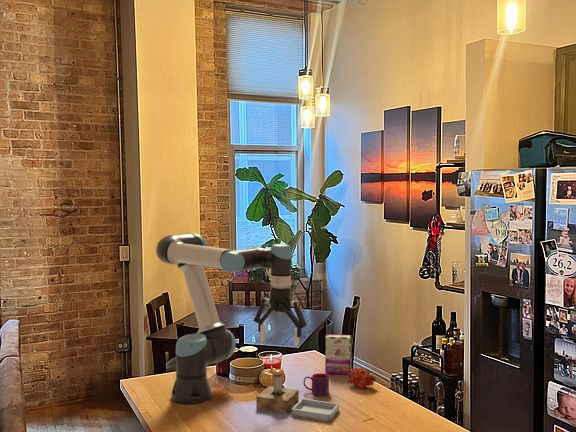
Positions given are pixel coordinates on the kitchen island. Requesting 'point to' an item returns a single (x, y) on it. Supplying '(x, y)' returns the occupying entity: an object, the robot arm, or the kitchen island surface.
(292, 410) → the tray
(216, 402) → the kitchen island surface
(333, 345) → the candy bar box
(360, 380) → the dragon fruit
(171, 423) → the kitchen island surface
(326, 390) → the mug
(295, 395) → the socket block
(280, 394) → the pin
